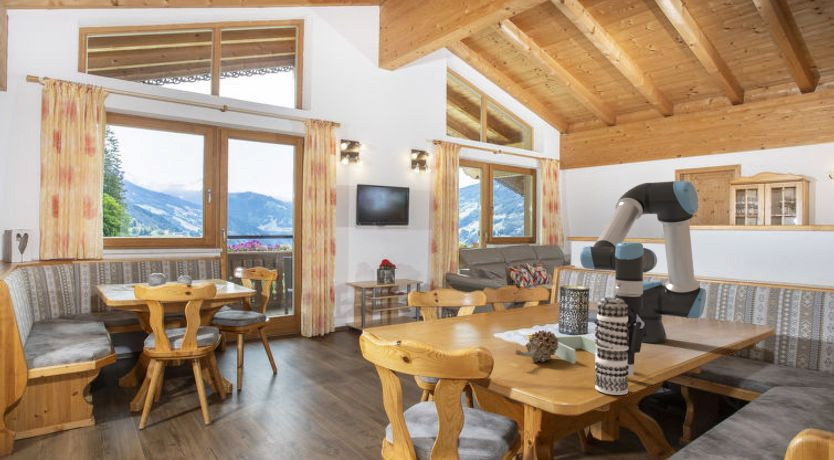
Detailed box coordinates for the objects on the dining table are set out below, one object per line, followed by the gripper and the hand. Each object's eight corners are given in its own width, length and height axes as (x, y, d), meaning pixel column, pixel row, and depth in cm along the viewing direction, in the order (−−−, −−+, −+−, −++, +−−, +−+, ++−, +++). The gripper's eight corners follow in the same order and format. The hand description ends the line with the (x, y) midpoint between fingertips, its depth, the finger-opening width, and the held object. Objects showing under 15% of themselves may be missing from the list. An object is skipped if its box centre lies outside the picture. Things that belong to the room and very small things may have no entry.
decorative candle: (593, 392, 130) (594, 299, 130) (593, 382, 139) (594, 295, 139) (630, 397, 127) (631, 302, 127) (628, 386, 136) (629, 297, 136)
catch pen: (581, 347, 181) (582, 335, 181) (613, 361, 162) (613, 347, 162) (544, 349, 177) (544, 337, 177) (572, 363, 159) (572, 349, 159)
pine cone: (538, 354, 170) (539, 325, 170) (564, 359, 164) (565, 329, 164) (505, 367, 154) (506, 335, 154) (533, 373, 148) (533, 340, 148)
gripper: (604, 291, 149) (603, 368, 149) (632, 298, 136) (631, 382, 136) (625, 291, 150) (624, 367, 150) (655, 297, 137) (654, 380, 138)
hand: (627, 374), depth 143 cm, fingers closed
